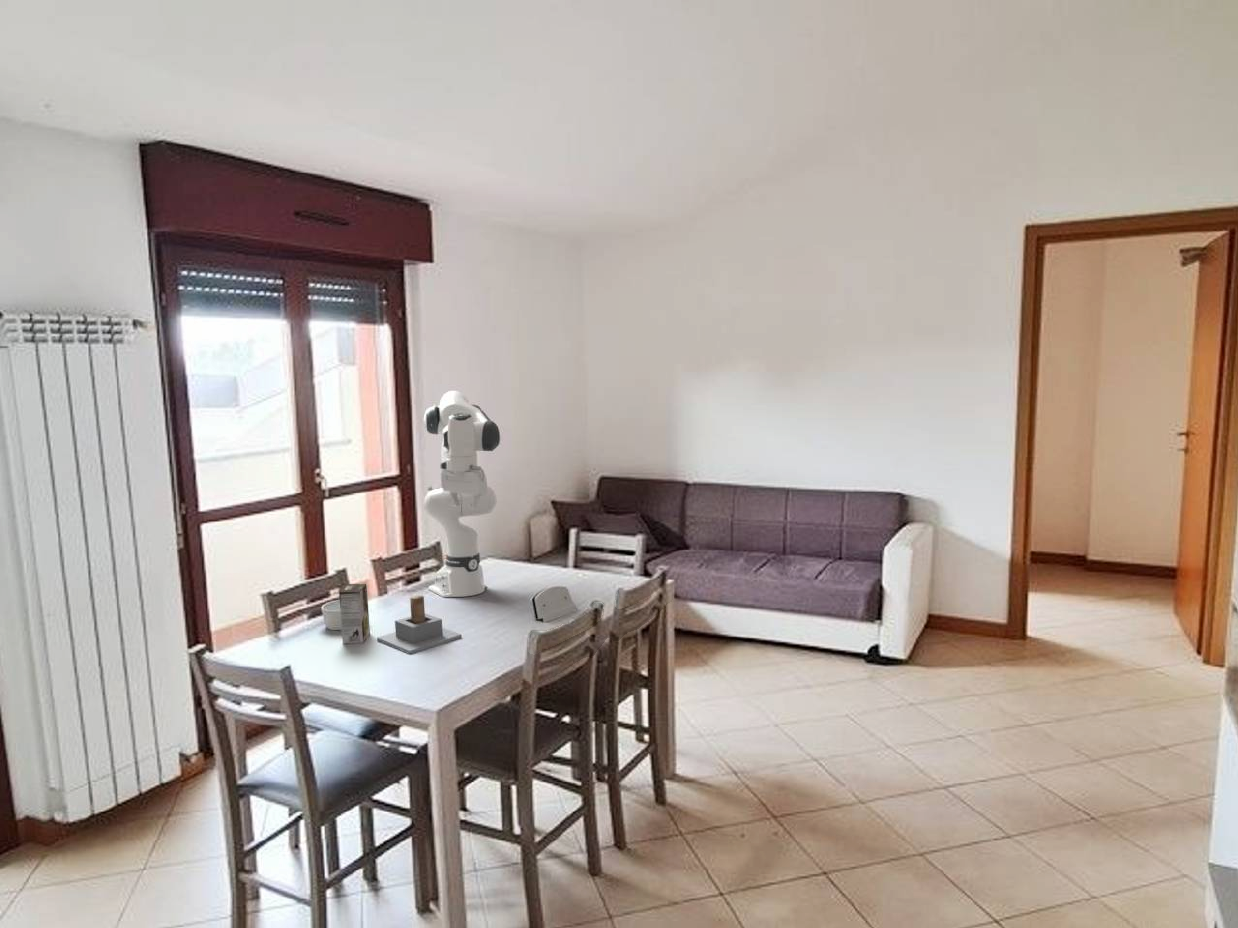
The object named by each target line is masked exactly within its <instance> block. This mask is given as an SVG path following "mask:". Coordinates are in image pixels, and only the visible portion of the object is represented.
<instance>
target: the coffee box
mask: <svg viewBox="0 0 1238 928" xmlns="http://www.w3.org/2000/svg"><path fill="white" fill-rule="evenodd" d="M367 587H368V586H367V583H347V584H345V585H344V587H342V588H341V590H340V591H339V592H338V594H339V600H340V609H341V624H342V630H341V636H342V637H341V638H342V644H343V645H346V643H348V644H363V643H364V642H366V640H365V639H367V638H368V636H369V635H370V634H371V628H370V627H371V626H370V615H369V598H368V588H367ZM359 642H360V643H359ZM362 642H363V643H362Z"/></svg>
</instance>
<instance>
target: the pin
mask: <svg viewBox="0 0 1238 928" xmlns="http://www.w3.org/2000/svg"><path fill="white" fill-rule="evenodd" d="M424 598H425V597H424V595H414V596H411V597H410V598H409V602H410V617H411V620H412V623H413V624H419V623H422V622H425V614H426V613H425V612H426V611H425V610H426V609H425V599H424Z"/></svg>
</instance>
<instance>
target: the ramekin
mask: <svg viewBox="0 0 1238 928" xmlns="http://www.w3.org/2000/svg"><path fill="white" fill-rule="evenodd" d="M321 612H322V613H321V614H322V618H323V622H324V626H325V627H326V628H327V629H328V630H329V631H335V630H341V631H342V624H341V609H340V599H337V600H333V601H329V602H326V603H325V604H323V605H322V606H321Z"/></svg>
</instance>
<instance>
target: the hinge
mask: <svg viewBox="0 0 1238 928" xmlns="http://www.w3.org/2000/svg"><path fill="white" fill-rule="evenodd" d="M529 603H530V609H531V614H532V619H533V620H534V621H537V620H541V619H542V621H543V623H547V622H549V621H552V620H555V619H558V618H560V617H563V616H565V615H567V614H570V613H572V612H576V611H578V607H577V604H576V603H574V601H573V599H572V597H571V594H570V592H569V589H568V587H567V586H563V585H562V586H550V587H547V588H544V589H542V590H539V592H537V593H535V594H534V595H533V596H531V598H530V599H529Z"/></svg>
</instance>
